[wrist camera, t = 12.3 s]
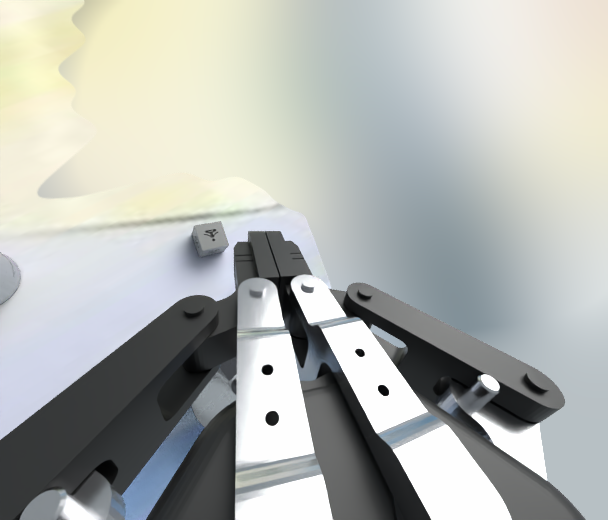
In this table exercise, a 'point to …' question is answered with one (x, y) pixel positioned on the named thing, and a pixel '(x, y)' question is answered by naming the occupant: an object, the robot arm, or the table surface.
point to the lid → (217, 393)
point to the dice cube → (209, 238)
